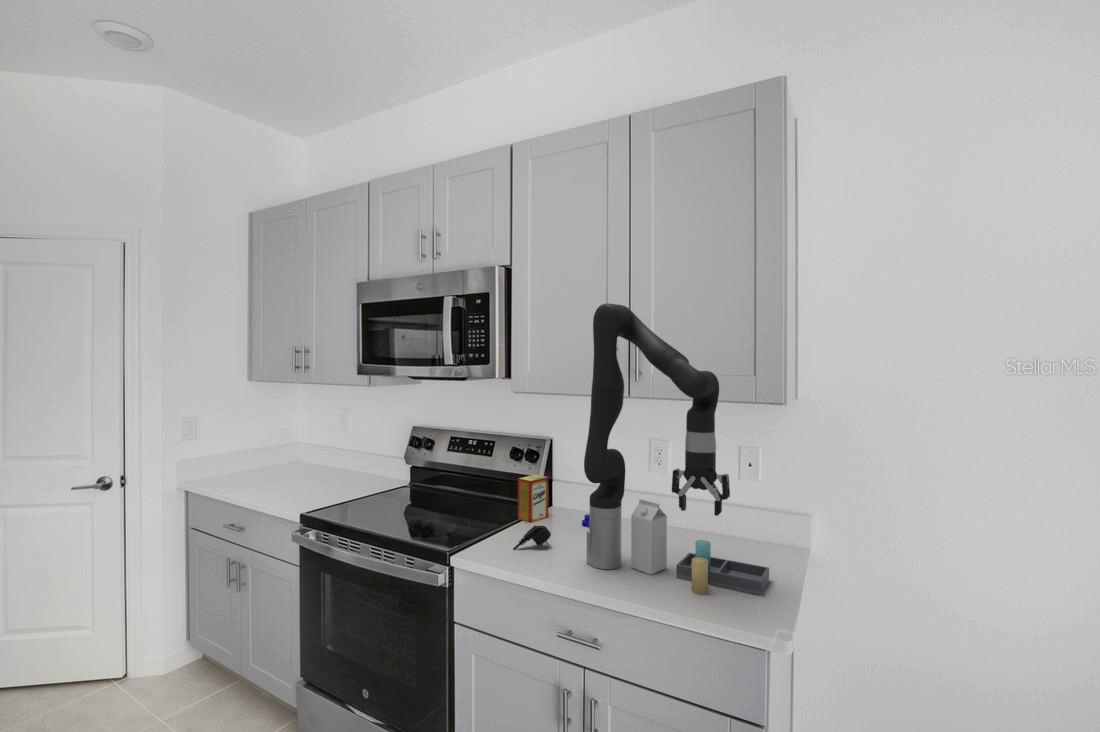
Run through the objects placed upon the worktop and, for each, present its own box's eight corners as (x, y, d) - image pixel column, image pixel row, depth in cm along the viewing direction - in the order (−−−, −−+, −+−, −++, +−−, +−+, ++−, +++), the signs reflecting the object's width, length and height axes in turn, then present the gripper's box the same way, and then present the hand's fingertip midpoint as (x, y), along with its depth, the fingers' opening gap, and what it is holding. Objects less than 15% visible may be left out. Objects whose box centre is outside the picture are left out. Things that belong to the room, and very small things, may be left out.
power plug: (510, 544, 172) (539, 518, 175) (524, 562, 173) (553, 536, 176) (513, 550, 167) (543, 523, 169) (528, 568, 168) (558, 541, 170)
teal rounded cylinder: (693, 572, 149) (693, 543, 149) (697, 567, 153) (697, 539, 153) (708, 575, 147) (708, 545, 147) (712, 570, 151) (712, 541, 151)
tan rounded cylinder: (689, 592, 139) (689, 560, 139) (694, 586, 142) (694, 556, 142) (705, 595, 137) (705, 563, 137) (709, 590, 140) (709, 559, 140)
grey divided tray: (676, 577, 148) (676, 564, 148) (688, 564, 158) (688, 552, 158) (761, 595, 137) (761, 581, 137) (769, 580, 146) (769, 567, 146)
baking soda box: (530, 524, 197) (530, 480, 197) (517, 520, 202) (517, 477, 201) (548, 519, 204) (548, 476, 204) (535, 515, 208) (536, 473, 208)
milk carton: (646, 562, 160) (647, 497, 160) (666, 569, 154) (667, 501, 154) (631, 568, 155) (631, 501, 155) (651, 575, 150) (651, 506, 150)
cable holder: (581, 527, 194) (582, 516, 194) (587, 525, 197) (587, 514, 197) (600, 531, 189) (600, 520, 189) (606, 529, 192) (606, 518, 192)
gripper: (668, 448, 140) (668, 512, 140) (725, 453, 132) (725, 520, 132) (677, 445, 146) (677, 505, 146) (732, 449, 139) (732, 513, 139)
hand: (700, 512), depth 139 cm, fingers open, 8 cm apart
